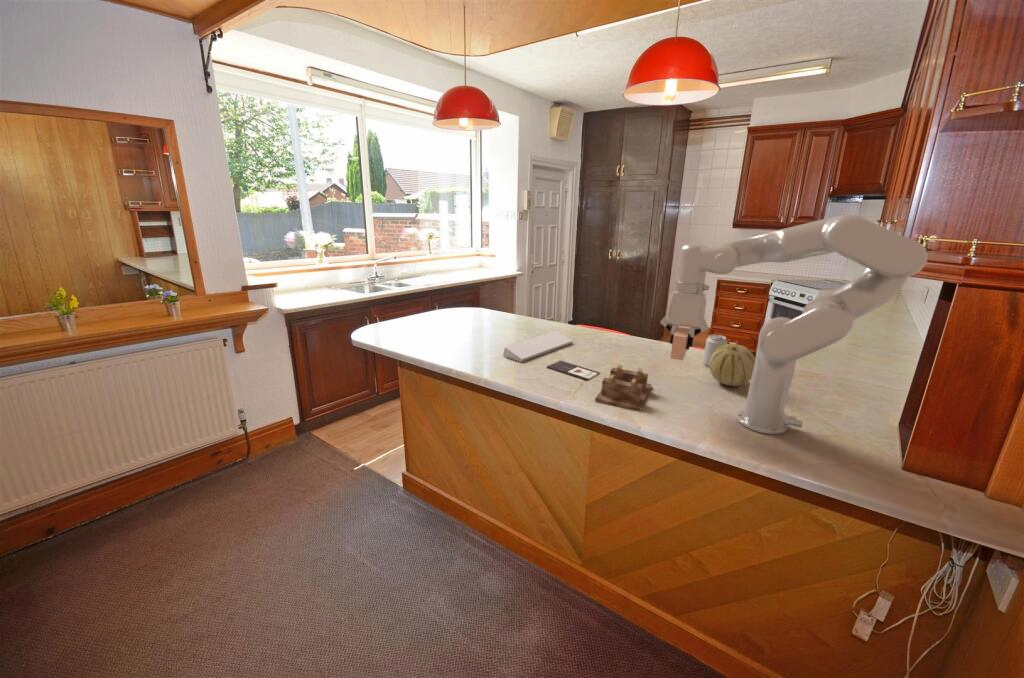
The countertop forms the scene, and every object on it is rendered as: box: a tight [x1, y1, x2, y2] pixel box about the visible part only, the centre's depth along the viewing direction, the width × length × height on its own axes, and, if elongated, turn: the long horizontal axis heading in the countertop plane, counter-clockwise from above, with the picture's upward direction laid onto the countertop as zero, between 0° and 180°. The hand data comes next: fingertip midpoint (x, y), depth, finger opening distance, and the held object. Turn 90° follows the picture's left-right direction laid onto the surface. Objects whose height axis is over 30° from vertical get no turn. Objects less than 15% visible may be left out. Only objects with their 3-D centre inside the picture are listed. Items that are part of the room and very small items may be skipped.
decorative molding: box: [502, 330, 574, 363], centre depth 181 cm, size 34×5×10 cm
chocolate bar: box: [546, 360, 600, 381], centre depth 158 cm, size 9×1×18 cm
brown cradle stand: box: [594, 364, 652, 412], centre depth 138 cm, size 14×20×8 cm
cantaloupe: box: [708, 343, 756, 387], centre depth 145 cm, size 15×15×15 cm
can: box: [702, 334, 728, 368], centre depth 162 cm, size 8×8×12 cm
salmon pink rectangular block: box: [670, 325, 690, 361], centre depth 126 cm, size 4×16×7 cm, turn 152°
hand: (680, 346), depth 126 cm, fingers closed on salmon pink rectangular block, 3 cm apart
